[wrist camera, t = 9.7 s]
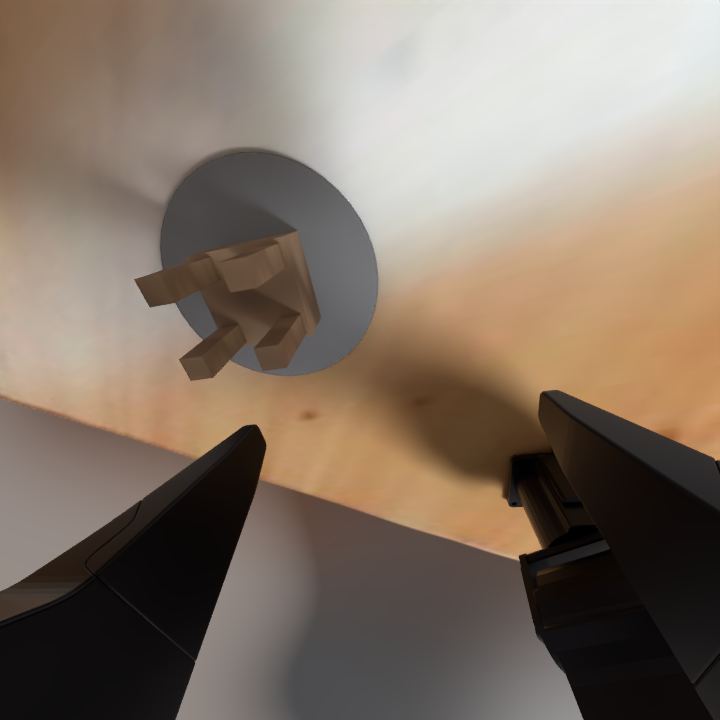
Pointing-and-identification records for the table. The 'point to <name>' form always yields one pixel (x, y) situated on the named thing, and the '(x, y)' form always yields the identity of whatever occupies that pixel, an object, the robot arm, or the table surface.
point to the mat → (273, 217)
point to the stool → (243, 300)
